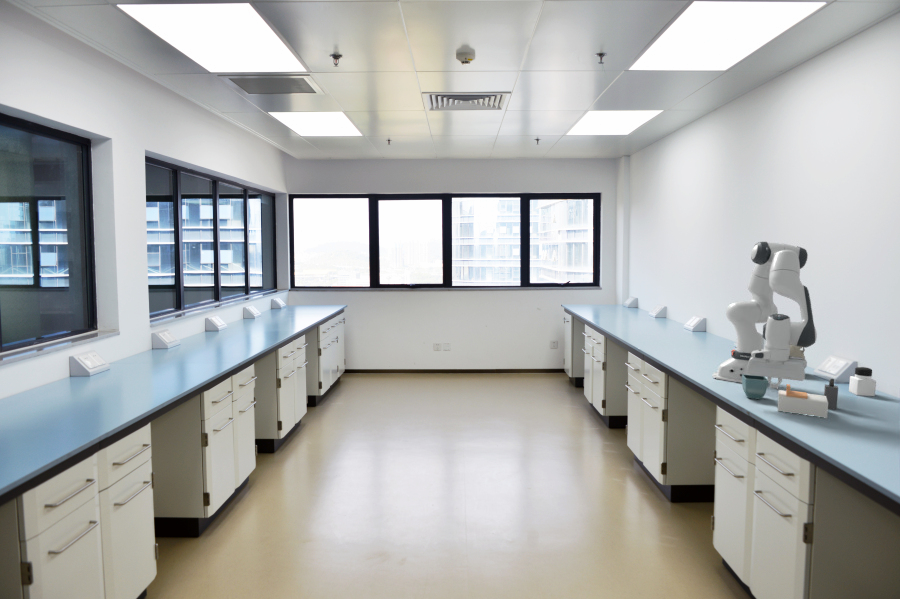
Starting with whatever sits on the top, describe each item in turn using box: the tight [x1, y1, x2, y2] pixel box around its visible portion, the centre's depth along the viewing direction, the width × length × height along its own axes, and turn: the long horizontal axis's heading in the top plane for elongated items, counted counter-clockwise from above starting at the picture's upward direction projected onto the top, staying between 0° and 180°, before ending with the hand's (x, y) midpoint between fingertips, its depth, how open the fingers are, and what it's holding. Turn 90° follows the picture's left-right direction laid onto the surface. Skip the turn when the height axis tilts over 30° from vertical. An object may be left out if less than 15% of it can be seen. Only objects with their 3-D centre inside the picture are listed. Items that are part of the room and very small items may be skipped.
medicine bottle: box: [848, 366, 877, 397], centre depth 241 cm, size 7×7×12 cm
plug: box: [823, 378, 839, 411], centre depth 219 cm, size 4×4×12 cm
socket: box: [777, 389, 829, 419], centre depth 214 cm, size 16×12×6 cm
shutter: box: [785, 383, 808, 399], centre depth 214 cm, size 7×7×3 cm
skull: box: [789, 345, 806, 360], centre depth 280 cm, size 13×15×20 cm
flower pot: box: [741, 375, 769, 400], centre depth 233 cm, size 9×9×9 cm
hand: (774, 388), depth 218 cm, fingers closed
